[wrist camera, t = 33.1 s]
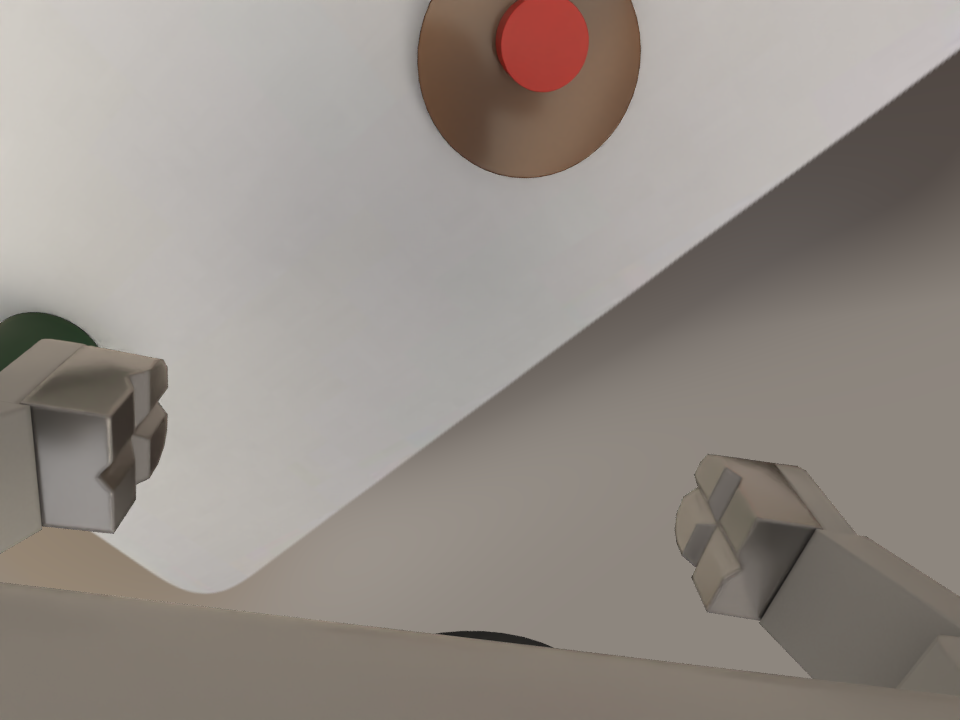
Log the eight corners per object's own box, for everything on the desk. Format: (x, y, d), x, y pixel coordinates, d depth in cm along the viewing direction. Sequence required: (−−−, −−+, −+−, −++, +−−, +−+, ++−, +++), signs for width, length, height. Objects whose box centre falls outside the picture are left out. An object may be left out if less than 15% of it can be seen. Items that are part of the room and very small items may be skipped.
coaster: (679, -3, 31) (683, -4, 31) (576, 206, 36) (578, 209, 36) (468, -114, 29) (469, -116, 28) (387, 127, 34) (386, 128, 33)
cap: (590, 15, 31) (605, 15, 28) (556, 97, 33) (568, 105, 30) (513, -19, 30) (521, -22, 27) (483, 67, 32) (487, 72, 29)
